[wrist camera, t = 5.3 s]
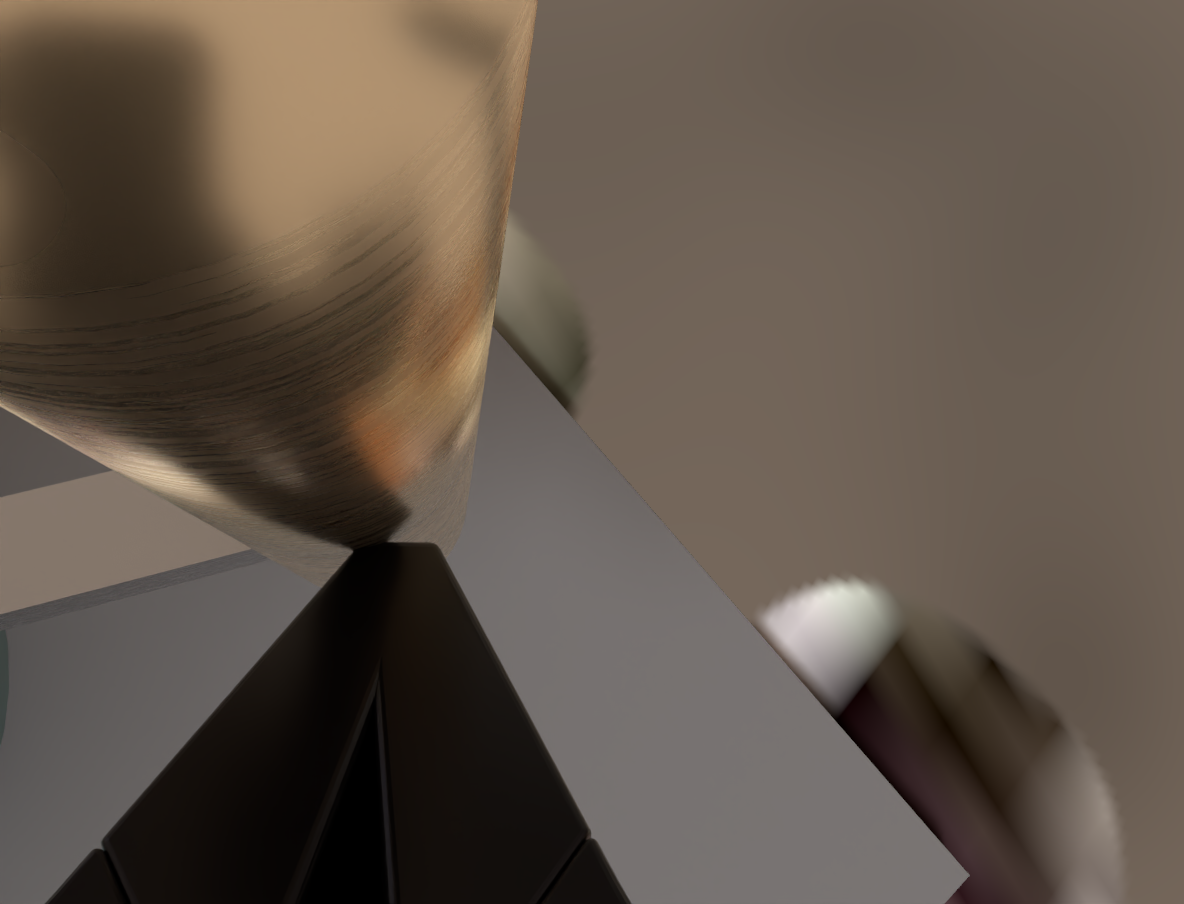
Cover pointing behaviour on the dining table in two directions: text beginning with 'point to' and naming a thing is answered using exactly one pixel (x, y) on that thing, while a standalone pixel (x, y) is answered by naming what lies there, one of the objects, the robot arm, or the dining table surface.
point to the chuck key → (247, 279)
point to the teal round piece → (3, 680)
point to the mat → (534, 665)
